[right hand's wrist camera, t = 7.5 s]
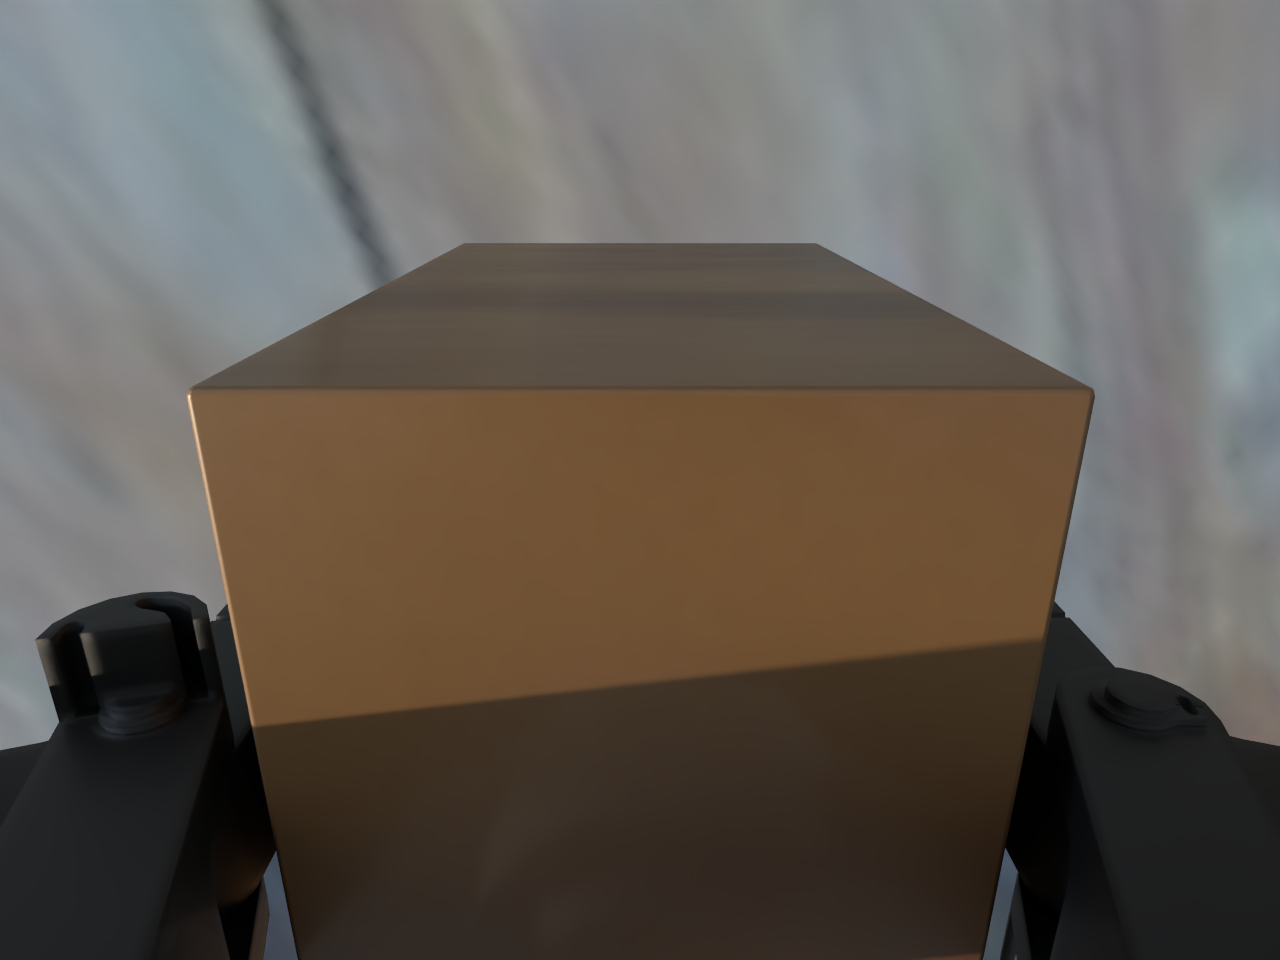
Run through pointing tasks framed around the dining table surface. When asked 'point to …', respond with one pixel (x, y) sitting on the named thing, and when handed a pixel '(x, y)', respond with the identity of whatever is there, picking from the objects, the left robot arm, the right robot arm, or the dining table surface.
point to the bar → (640, 604)
